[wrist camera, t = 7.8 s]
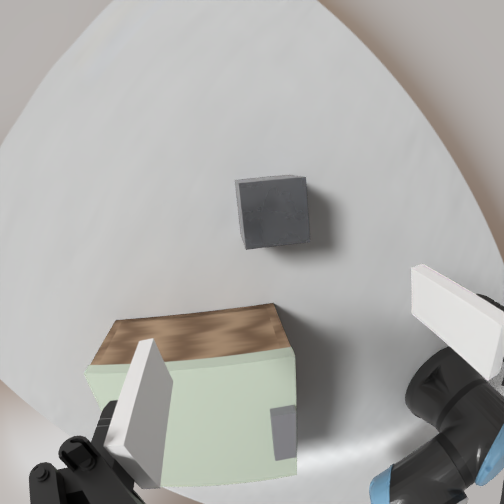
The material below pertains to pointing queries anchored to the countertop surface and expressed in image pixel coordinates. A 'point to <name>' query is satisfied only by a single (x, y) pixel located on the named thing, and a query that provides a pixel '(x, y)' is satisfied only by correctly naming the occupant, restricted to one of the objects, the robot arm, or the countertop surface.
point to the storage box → (196, 335)
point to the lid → (222, 417)
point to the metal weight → (273, 211)
